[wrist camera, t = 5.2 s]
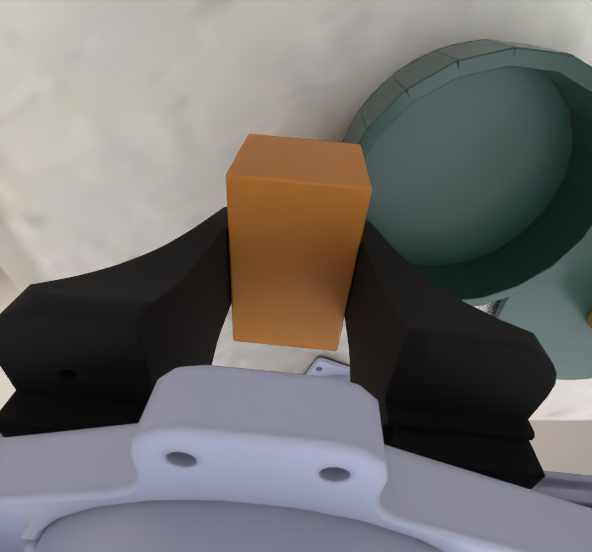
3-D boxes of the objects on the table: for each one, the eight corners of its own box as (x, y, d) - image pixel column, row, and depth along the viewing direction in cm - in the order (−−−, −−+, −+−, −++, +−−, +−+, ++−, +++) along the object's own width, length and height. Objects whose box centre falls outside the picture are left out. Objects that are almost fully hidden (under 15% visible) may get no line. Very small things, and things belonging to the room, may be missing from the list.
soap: (334, 289, 15) (337, 352, 12) (249, 281, 15) (233, 341, 12) (361, 143, 11) (372, 187, 9) (248, 132, 11) (224, 173, 9)
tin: (467, 294, 24) (487, 335, 21) (299, 223, 21) (295, 259, 19) (642, 116, 17) (710, 140, 14) (423, -19, 14) (448, -24, 12)
